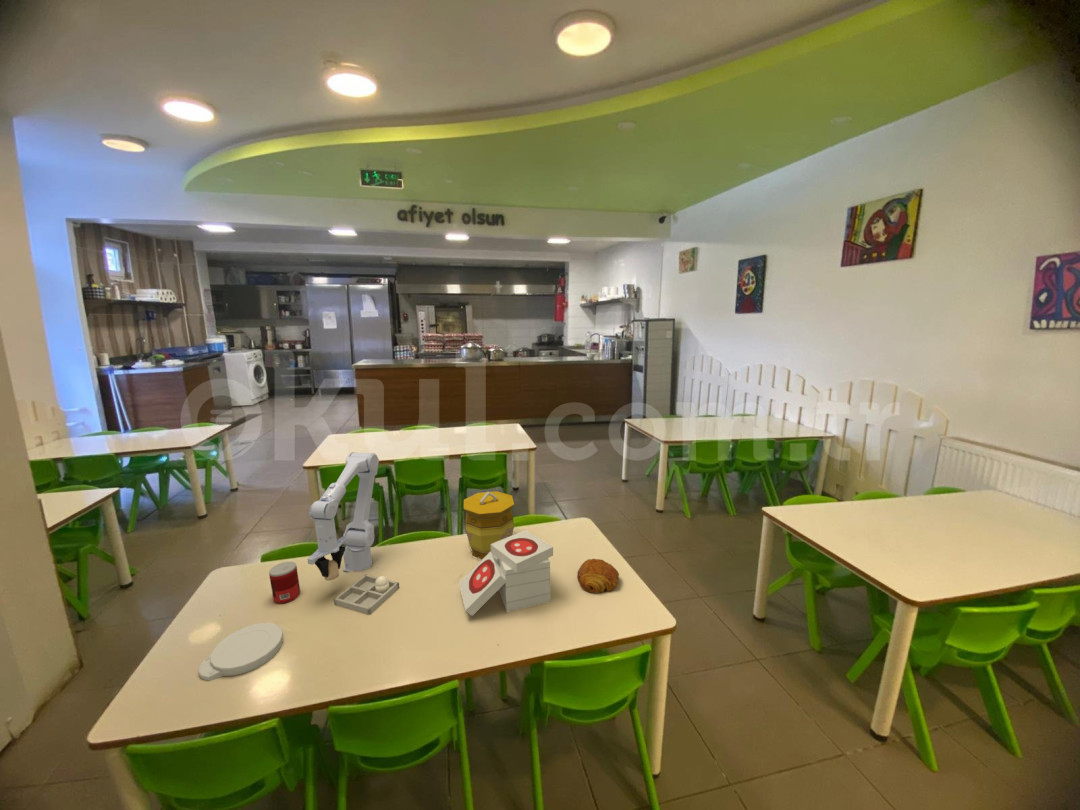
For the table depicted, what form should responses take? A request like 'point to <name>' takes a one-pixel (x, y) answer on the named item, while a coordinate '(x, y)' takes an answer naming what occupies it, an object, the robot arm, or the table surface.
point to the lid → (242, 651)
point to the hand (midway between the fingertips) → (331, 572)
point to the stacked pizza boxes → (510, 574)
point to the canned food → (284, 582)
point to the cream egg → (382, 584)
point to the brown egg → (332, 570)
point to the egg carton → (364, 595)
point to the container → (488, 520)
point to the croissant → (597, 576)
